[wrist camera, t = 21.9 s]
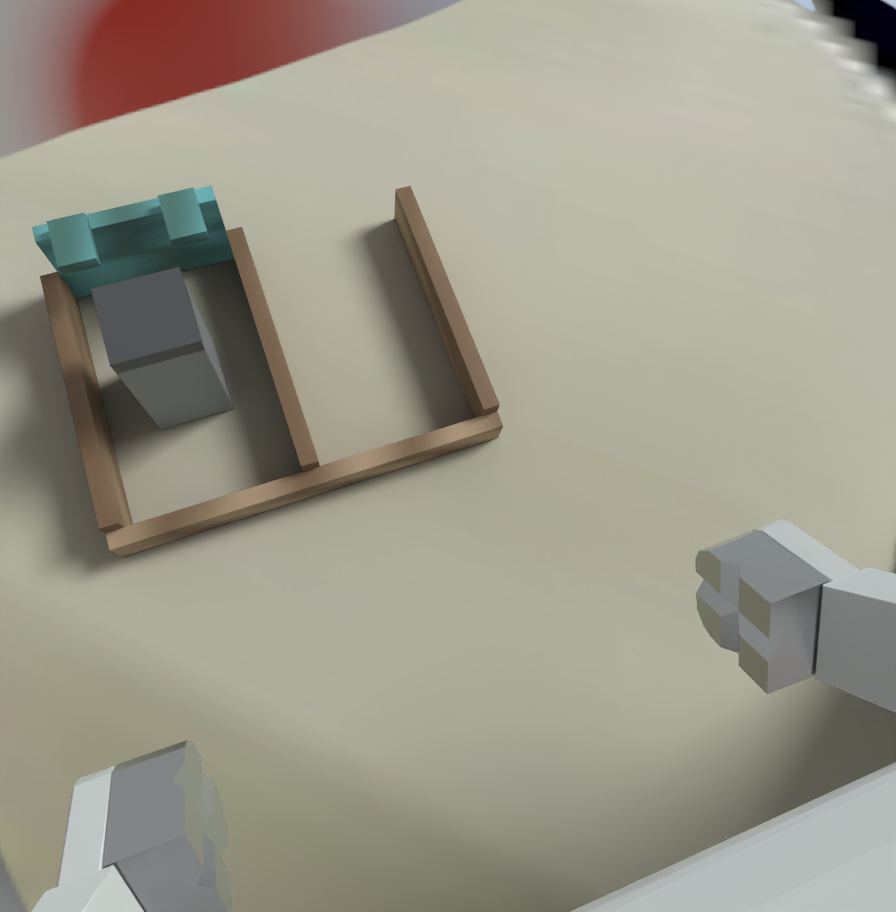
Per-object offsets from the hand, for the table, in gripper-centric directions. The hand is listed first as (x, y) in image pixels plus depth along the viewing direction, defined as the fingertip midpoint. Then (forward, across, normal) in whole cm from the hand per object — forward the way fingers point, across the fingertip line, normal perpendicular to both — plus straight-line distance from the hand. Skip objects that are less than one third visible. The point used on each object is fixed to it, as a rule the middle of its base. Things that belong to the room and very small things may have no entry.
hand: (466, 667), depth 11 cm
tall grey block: (+37, +6, +7) cm, 39 cm away
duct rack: (+37, +1, +7) cm, 38 cm away
